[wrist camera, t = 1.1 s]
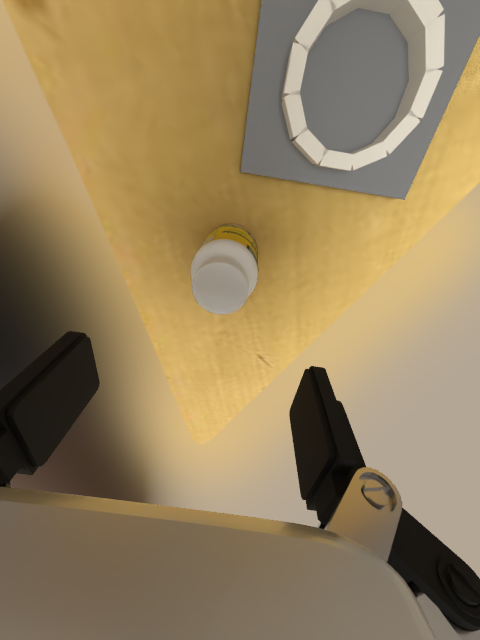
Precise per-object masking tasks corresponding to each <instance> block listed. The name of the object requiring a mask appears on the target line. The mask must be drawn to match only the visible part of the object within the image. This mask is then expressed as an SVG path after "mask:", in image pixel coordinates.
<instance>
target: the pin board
mask: <svg viewBox="0 0 480 640" xmlns="http://www.w3.org/2000/svg"><path fill="white" fill-rule="evenodd" d="M479 35H480V0H262V1H261V9H260V17H259V25H258V33H257V41H256V49H255V57H254V65H253V73H252V81H251V90H250V98H249V106H248V114H247V122H246V130H245V138H244V146H243V154H242V162H241V170H240V172H244V173H250V174H256V175H262V176H268V177H274V178H280V179H285V180H291V181H297V182H303V183H309V184H315V185H321V186H327V187H333V188H338V189H344V190H350V191H356V192H362V193H368V194H374V195H380V196H386V197H391V198H397V199H403V200H405V197H406V195H407V193H408V191H409V189H410V187H411V184H412V182H413V180H414V178H415V176H416V173H417V171H418V169H419V167H420V165H421V162H422V160H423V158H424V156H425V154H426V151H427V149H428V147H429V145H430V143H431V140H432V138H433V136H434V134H435V132H436V129H437V127H438V125H439V123H440V121H441V119H442V116H443V114H444V112H445V110H446V108H447V105H448V103H449V101H450V99H451V97H452V94H453V92H454V90H455V88H456V86H457V83H458V81H459V79H460V77H461V75H462V72H463V70H464V68H465V66H466V64H467V61H468V59H469V57H470V55H471V53H472V51H473V48H474V46H475V44H476V42H477V40H478V37H479Z"/></svg>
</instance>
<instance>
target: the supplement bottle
mask: <svg viewBox="0 0 480 640" xmlns="http://www.w3.org/2000/svg"><path fill="white" fill-rule="evenodd" d="M191 279H192V292H193V295H194V298H195V300H196V301H197V303H198V304H199V305H200V306H201V307H202V308H204V309H205V310H207V311H209V312H211V313H214V314H229V313H233V312H235V311H237V310H238V309H239V308H241V307H242V306H243V304H244V303H245V301H246V299H247V297H248V296H249V295H250V294H251V293H252V291H253V290H254V288H255V286H256V283H257V279H258V251H257V245H256V242H255V239H254V237H253V236H252V235H251V233H250V232H249V231H248V230H246V229H245V228H244V227H242V226H239V225H236V224H225V225H221V226H219V227H217V228H216V229H214V230H213V231H212V232H211V233H210V234H209V235H208V237H207V238H206V240H205V241H204V243H203V244H202V246H201V247H200V248H199V250H198V251H197V253H196V255H195V256H194V259H193V261H192V264H191Z"/></svg>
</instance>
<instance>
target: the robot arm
mask: <svg viewBox="0 0 480 640" xmlns="http://www.w3.org/2000/svg"><path fill="white" fill-rule="evenodd" d="M98 387H99V378H98V373H97V368H96V364H95V360H94V354H93V350H92V345H91V341H90V338H89V337H87V336H86V334H85V333H80V332H72V331H70V332H67V333H66V334H65V335H63V336H62V337H61V338H60V339H59V340H58V341H56V342H55V343H54V344H53V345H52V346H51V347H50V348H48V349H47V350H46V351H45V352H44V353H43V354H41V355H40V356H39V357H38V358H37V359H36V360H35V361H33V362H32V363H31V364H30V365H29V366H28V367H26V368H25V369H24V370H23V371H22V372H21V373H20V374H18V375H17V376H16V377H15V378H14V379H13V380H12V381H10V382H9V383H8V384H7V385H6V386H5V387H3V388H2V389H1V390H0V640H480V579H479V577H478V576H477V575H476V573H475V572H474V571H473V570H472V569H471V568H470V567H469V566H468V565H467V564H466V563H465V562H464V561H463V560H462V559H461V558H459V557H458V556H457V555H456V554H455V553H454V552H453V551H451V550H450V549H449V548H448V547H447V546H446V545H444V544H443V543H442V542H441V541H440V540H439V539H438V538H437V537H435V536H434V535H433V534H432V533H431V532H430V531H428V530H427V529H426V528H425V527H424V526H423V525H422V524H421V523H419V522H418V521H417V520H416V519H415V518H414V517H413V516H411V515H410V514H409V513H408V512H407V511H406V510H404V509H403V508H402V500H401V496H400V494H399V492H398V490H397V488H396V487H395V485H394V484H393V483H392V482H391V481H390V480H389V479H388V478H387V477H386V476H385V475H384V474H382V473H381V472H379V471H378V470H375V469H372V468H368V467H366V465H365V463H364V460H363V457H362V455H361V452H360V449H359V447H358V444H357V442H356V439H355V436H354V434H353V431H352V428H351V426H350V423H349V420H348V418H347V415H346V413H345V410H344V407H343V405H342V403H341V402H340V401H337V400H336V398H335V395H334V392H333V389H332V386H331V384H330V381H329V378H328V376H327V373H326V370H325V368H321V367H314V366H311V367H310V368H309V369H305V371H304V374H303V377H302V379H301V382H300V385H299V387H298V390H297V393H296V395H295V398H294V400H293V403H292V405H291V408H290V423H291V430H292V437H293V443H294V451H295V458H296V465H297V472H298V479H299V485H300V493H301V497H302V499H303V500H306V504H307V509H308V510H314V511H317V516H318V520H319V521H320V523H319V525H318V527H317V528H316V527H311V526H306V525H301V524H296V523H289V522H282V521H275V520H269V519H262V518H256V517H248V516H240V515H233V514H224V513H217V512H209V511H201V510H193V509H185V508H178V507H170V506H162V505H154V504H146V503H138V502H130V501H121V500H113V499H105V498H97V497H88V496H80V495H72V494H63V493H54V492H46V491H37V490H29V489H19V488H11V479H12V478H13V477H14V475H15V474H16V473H20V474H28V475H33V474H34V472H35V471H36V469H37V468H38V467H39V466H42V465H43V464H44V463H45V462H46V461H47V460H48V458H49V457H50V456H51V454H52V453H53V452H54V450H55V448H56V447H57V446H58V444H59V443H60V442H61V440H62V439H63V437H64V436H65V434H66V433H67V432H68V430H69V429H70V428H71V426H72V425H73V423H74V422H75V421H76V419H77V418H78V416H79V415H80V414H81V412H82V411H83V409H84V408H85V407H86V405H87V404H88V402H89V401H90V400H91V398H92V397H93V395H94V394H95V393H96V391H97V390H98Z"/></svg>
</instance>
